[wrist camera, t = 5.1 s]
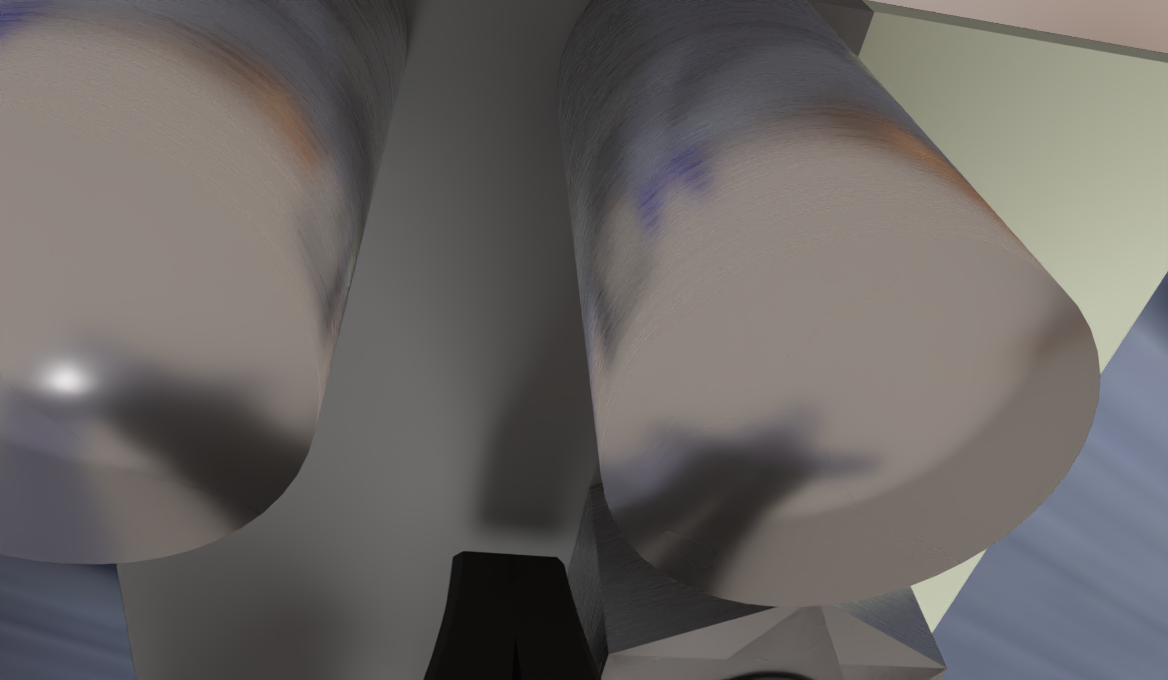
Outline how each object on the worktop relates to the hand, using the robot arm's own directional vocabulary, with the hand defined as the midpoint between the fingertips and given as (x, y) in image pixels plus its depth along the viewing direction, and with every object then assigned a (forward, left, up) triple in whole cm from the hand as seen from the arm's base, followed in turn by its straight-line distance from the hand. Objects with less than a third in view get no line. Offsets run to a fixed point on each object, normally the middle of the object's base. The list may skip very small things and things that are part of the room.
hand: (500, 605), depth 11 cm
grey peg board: (0, +1, -1) cm, 2 cm away
